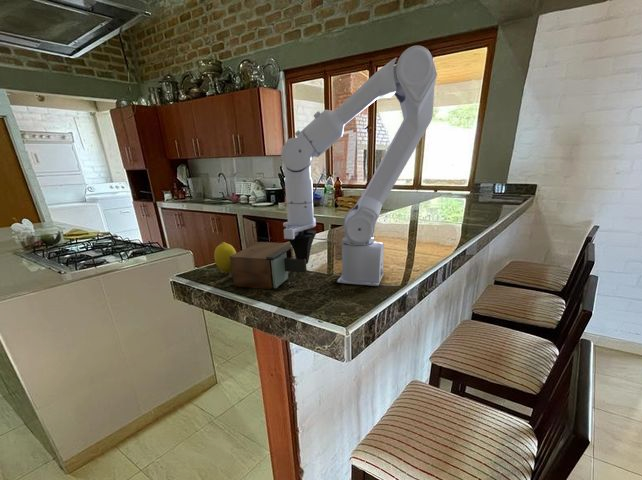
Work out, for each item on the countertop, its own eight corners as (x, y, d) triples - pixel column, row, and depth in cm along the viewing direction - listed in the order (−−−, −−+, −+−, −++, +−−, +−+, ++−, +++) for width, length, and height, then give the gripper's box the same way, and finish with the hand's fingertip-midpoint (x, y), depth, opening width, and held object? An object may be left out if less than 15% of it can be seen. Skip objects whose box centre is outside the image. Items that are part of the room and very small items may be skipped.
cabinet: (300, 270, 86) (298, 242, 82) (277, 290, 74) (274, 257, 70) (262, 268, 89) (259, 240, 85) (234, 286, 77) (229, 254, 73)
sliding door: (308, 279, 78) (306, 253, 75) (296, 290, 72) (295, 261, 69) (286, 278, 80) (283, 251, 77) (273, 288, 74) (270, 260, 71)
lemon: (242, 269, 88) (238, 239, 84) (235, 276, 83) (230, 244, 79) (222, 269, 88) (216, 239, 85) (213, 276, 83) (208, 244, 80)
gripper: (295, 198, 79) (298, 254, 85) (267, 206, 67) (274, 271, 72) (323, 198, 77) (325, 255, 83) (300, 207, 65) (304, 274, 70)
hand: (303, 263), depth 77 cm, fingers closed
